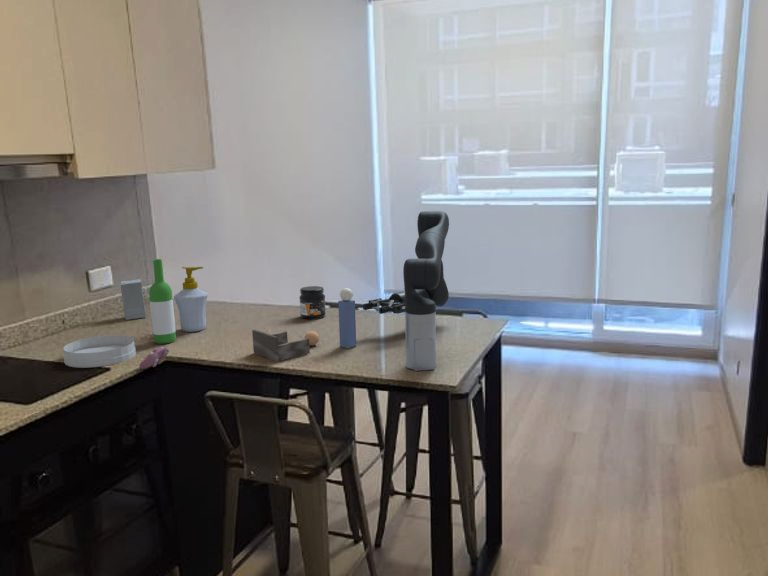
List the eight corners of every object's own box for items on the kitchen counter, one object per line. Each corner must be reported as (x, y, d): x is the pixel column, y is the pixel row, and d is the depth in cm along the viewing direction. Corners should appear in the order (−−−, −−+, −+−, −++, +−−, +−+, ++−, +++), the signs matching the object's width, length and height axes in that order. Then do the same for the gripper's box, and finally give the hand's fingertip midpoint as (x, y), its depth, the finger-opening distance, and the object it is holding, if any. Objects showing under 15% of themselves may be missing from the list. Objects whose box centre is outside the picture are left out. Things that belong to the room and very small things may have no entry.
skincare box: (144, 314, 276) (141, 278, 272) (146, 318, 269) (142, 281, 266) (123, 317, 272) (119, 280, 269) (124, 320, 266) (120, 283, 263)
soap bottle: (204, 333, 242) (199, 269, 237) (171, 334, 242) (165, 269, 237) (214, 325, 254) (210, 263, 249) (183, 325, 255) (178, 264, 250)
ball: (320, 346, 220) (319, 332, 219) (305, 348, 219) (304, 333, 218) (318, 343, 225) (317, 329, 224) (304, 344, 224) (303, 330, 223)
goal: (286, 345, 223) (284, 322, 222) (309, 353, 213) (308, 329, 212) (253, 353, 215) (252, 330, 213) (276, 361, 205) (275, 337, 203)
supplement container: (298, 320, 259) (297, 291, 257) (301, 314, 270) (300, 286, 267) (324, 319, 259) (323, 290, 257) (326, 313, 270) (325, 285, 267)
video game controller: (149, 375, 200) (157, 356, 198) (137, 368, 200) (144, 349, 198) (166, 365, 209) (173, 347, 207) (154, 359, 210) (161, 340, 208)
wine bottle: (151, 345, 228) (142, 261, 222) (157, 339, 235) (149, 258, 230) (173, 344, 228) (165, 260, 223) (178, 338, 236) (171, 257, 230)
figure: (349, 343, 223) (347, 286, 219) (357, 346, 220) (355, 287, 216) (339, 346, 220) (336, 288, 216) (347, 348, 217) (345, 289, 213)
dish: (72, 352, 223) (70, 338, 222) (139, 346, 228) (138, 332, 227) (57, 371, 201) (55, 356, 200) (131, 364, 207) (130, 349, 206)
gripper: (391, 289, 241) (358, 295, 230) (418, 294, 230) (384, 301, 220) (391, 308, 242) (358, 316, 231) (418, 314, 232) (385, 322, 221)
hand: (371, 309), depth 225 cm, fingers open, 8 cm apart
